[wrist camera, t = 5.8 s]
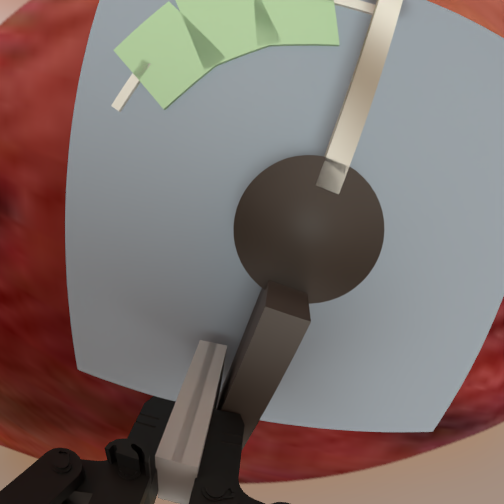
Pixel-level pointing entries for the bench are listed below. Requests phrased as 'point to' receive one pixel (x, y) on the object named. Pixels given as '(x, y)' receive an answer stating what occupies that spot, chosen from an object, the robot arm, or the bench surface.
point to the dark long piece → (306, 237)
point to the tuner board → (257, 160)
